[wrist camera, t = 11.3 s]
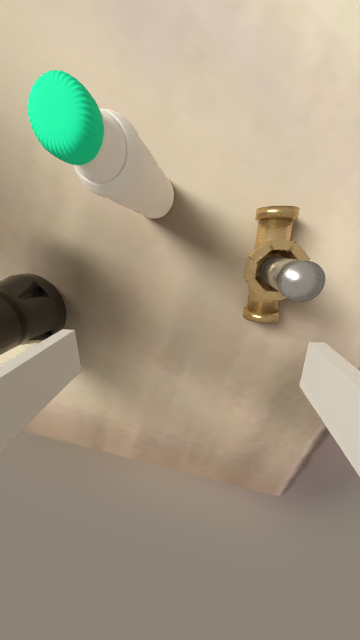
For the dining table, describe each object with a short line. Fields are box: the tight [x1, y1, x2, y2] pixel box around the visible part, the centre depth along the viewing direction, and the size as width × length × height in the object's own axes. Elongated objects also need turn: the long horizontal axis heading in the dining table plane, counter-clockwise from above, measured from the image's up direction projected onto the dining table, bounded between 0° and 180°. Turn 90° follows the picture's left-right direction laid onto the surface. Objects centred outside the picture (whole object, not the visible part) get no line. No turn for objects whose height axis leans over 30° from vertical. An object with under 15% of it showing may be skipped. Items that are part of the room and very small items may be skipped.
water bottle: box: [28, 70, 174, 218], centre depth 26 cm, size 7×7×25 cm
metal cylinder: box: [259, 256, 325, 302], centre depth 27 cm, size 4×4×12 cm
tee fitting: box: [243, 206, 310, 323], centre depth 34 cm, size 17×8×8 cm, turn 179°
